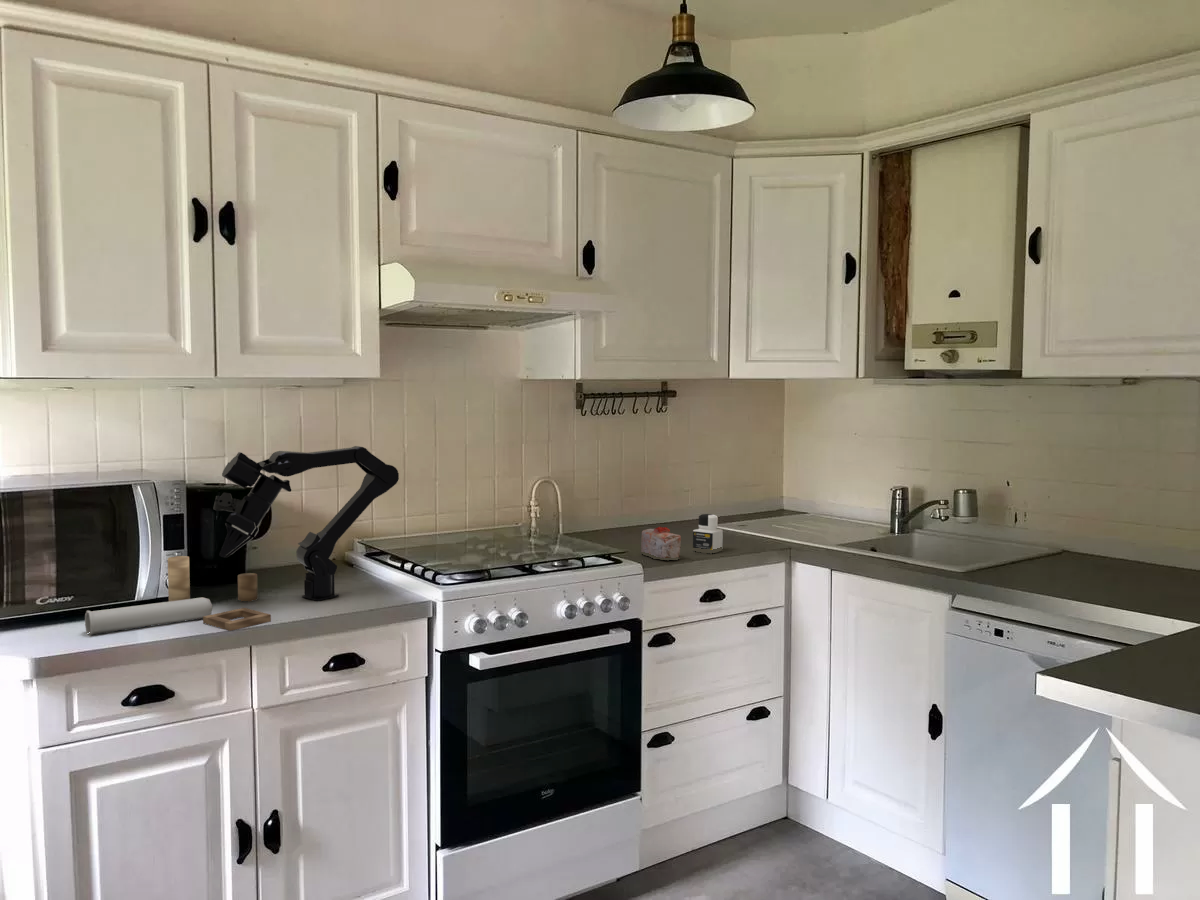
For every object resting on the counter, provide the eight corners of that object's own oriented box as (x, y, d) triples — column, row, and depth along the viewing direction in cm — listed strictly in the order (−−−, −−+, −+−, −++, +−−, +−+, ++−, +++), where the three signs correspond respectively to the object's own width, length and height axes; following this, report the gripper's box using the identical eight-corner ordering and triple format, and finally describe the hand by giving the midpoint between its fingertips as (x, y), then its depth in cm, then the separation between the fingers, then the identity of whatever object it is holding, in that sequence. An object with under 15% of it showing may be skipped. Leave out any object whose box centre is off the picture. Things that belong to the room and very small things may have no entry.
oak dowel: (183, 611, 211) (182, 555, 210) (194, 614, 208) (193, 557, 207) (165, 615, 207) (163, 558, 206) (175, 618, 205) (174, 560, 204)
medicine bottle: (692, 552, 293) (692, 514, 292) (703, 548, 299) (703, 512, 298) (712, 554, 289) (712, 516, 288) (722, 551, 295) (723, 514, 294)
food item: (684, 561, 278) (685, 528, 278) (663, 563, 274) (664, 530, 273) (657, 553, 290) (657, 522, 289) (636, 556, 285) (637, 524, 285)
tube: (207, 596, 210) (84, 612, 193) (214, 593, 206) (89, 609, 189) (209, 620, 209) (86, 637, 192) (217, 617, 205) (91, 635, 188)
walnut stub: (250, 596, 226) (250, 572, 226) (261, 599, 224) (260, 574, 223) (234, 599, 223) (233, 575, 222) (245, 602, 220) (244, 577, 220)
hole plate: (244, 614, 209) (243, 607, 209) (270, 621, 203) (270, 614, 203) (203, 623, 201) (203, 616, 201) (229, 630, 195) (229, 623, 195)
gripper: (232, 484, 224) (195, 540, 220) (226, 477, 206) (185, 538, 202) (273, 507, 226) (237, 563, 222) (271, 502, 208) (231, 563, 204)
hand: (222, 556), depth 212 cm, fingers open, 9 cm apart
